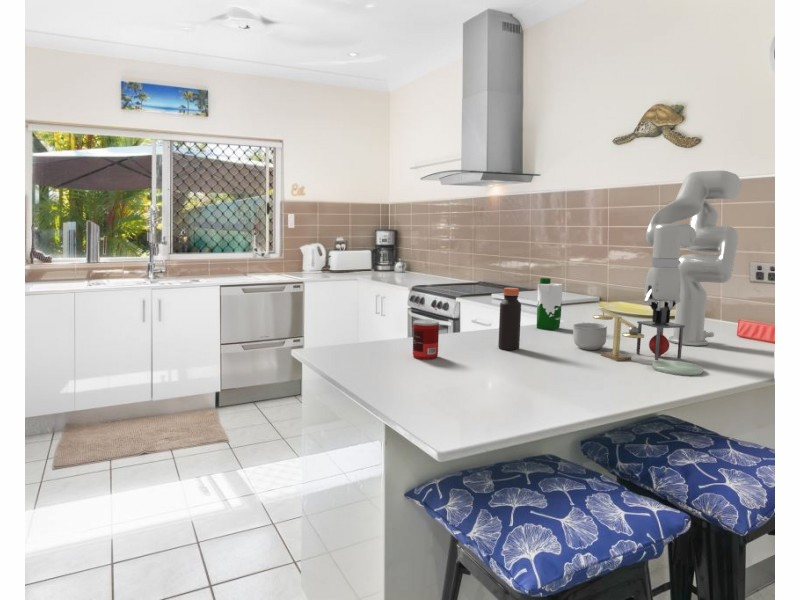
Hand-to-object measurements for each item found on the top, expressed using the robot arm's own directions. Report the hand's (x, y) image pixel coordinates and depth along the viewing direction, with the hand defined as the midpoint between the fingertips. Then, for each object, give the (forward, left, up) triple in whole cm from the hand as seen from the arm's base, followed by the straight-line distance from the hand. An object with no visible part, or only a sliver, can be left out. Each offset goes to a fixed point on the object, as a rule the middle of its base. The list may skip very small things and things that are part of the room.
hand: (660, 322), depth 178 cm
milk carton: (+8, -53, -11) cm, 55 cm away
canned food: (+73, -14, -11) cm, 75 cm away
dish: (+7, +16, -11) cm, 21 cm away
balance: (+15, -1, -11) cm, 19 cm away
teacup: (+14, -17, -11) cm, 25 cm away
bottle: (+42, -20, -11) cm, 48 cm away
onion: (0, 0, -11) cm, 11 cm away
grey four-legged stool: (0, 0, -11) cm, 11 cm away
